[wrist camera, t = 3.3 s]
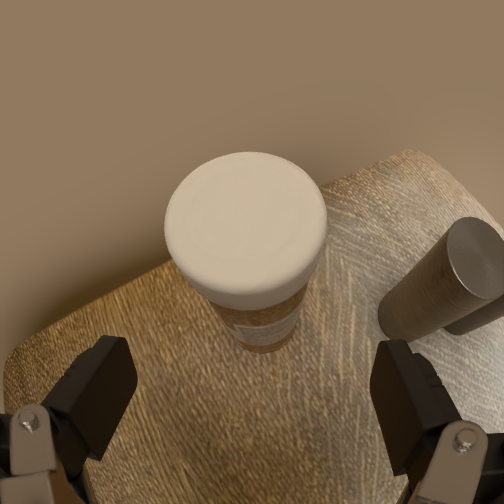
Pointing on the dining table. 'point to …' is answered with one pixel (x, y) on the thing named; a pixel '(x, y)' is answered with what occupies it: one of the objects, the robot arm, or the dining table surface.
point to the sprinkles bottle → (249, 242)
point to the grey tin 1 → (446, 282)
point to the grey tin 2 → (478, 317)
